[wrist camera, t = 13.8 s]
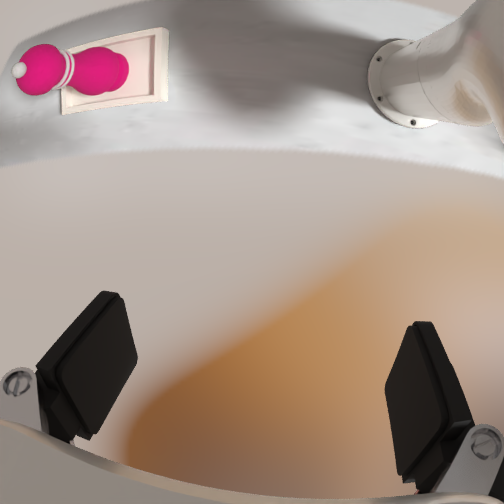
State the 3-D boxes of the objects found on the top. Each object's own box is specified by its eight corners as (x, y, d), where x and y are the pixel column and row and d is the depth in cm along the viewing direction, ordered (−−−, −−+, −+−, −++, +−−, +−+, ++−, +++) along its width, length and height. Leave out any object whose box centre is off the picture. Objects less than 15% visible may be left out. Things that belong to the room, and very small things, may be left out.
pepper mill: (86, 73, 39) (-13, 77, 21) (116, 40, 36) (19, 24, 19) (108, 104, 41) (10, 118, 23) (141, 71, 38) (45, 63, 21)
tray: (169, 30, 36) (162, 26, 34) (167, 101, 41) (160, 101, 39) (71, 51, 38) (62, 51, 36) (71, 113, 43) (62, 115, 41)
